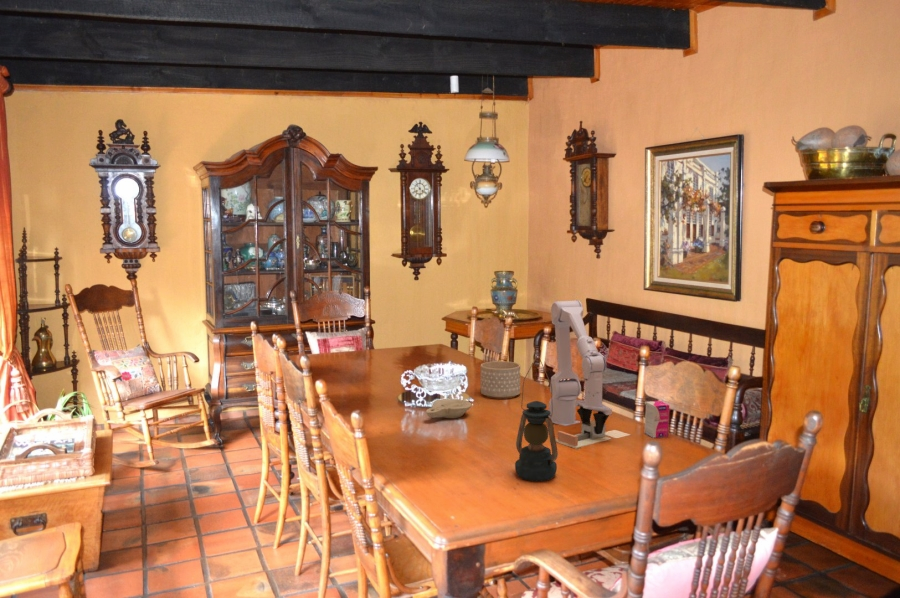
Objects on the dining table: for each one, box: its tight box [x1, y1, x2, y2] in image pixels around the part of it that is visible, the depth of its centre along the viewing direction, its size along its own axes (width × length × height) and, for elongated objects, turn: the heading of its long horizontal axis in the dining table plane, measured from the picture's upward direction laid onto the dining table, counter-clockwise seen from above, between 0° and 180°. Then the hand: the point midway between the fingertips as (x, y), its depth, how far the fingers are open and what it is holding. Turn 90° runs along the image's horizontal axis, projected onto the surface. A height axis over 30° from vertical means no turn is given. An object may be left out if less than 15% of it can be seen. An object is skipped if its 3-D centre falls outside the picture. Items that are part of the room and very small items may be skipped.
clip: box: [580, 420, 606, 440], centre depth 244 cm, size 5×6×4 cm
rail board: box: [555, 430, 612, 450], centre depth 241 cm, size 10×16×4 cm, turn 126°
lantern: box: [514, 354, 559, 482], centre depth 208 cm, size 14×12×35 cm
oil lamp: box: [425, 398, 472, 419], centre depth 270 cm, size 21×14×5 cm
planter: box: [480, 360, 521, 400], centre depth 304 cm, size 16×16×13 cm
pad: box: [605, 429, 631, 439], centre depth 248 cm, size 7×7×1 cm
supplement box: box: [644, 400, 670, 439], centre depth 246 cm, size 6×6×12 cm
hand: (592, 431), depth 244 cm, fingers closed on clip, 5 cm apart
